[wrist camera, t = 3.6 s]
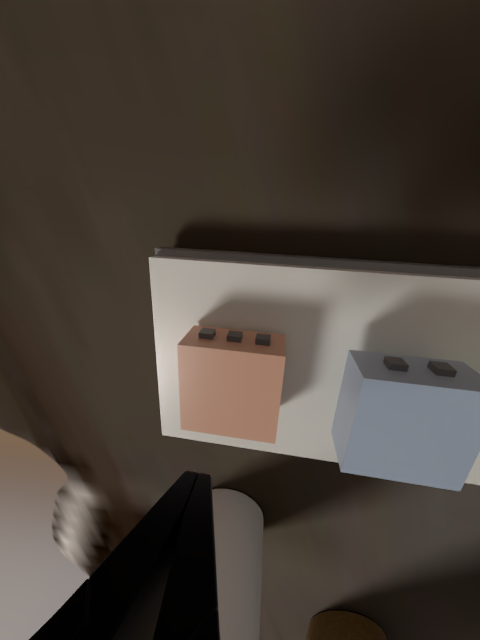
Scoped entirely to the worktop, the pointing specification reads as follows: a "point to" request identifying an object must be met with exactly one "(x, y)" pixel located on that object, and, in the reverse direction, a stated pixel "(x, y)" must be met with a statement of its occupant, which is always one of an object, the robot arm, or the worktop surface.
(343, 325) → the console
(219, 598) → the mug
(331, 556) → the worktop surface
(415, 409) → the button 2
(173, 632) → the robot arm
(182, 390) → the orange block with buttons
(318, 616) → the plant pot
